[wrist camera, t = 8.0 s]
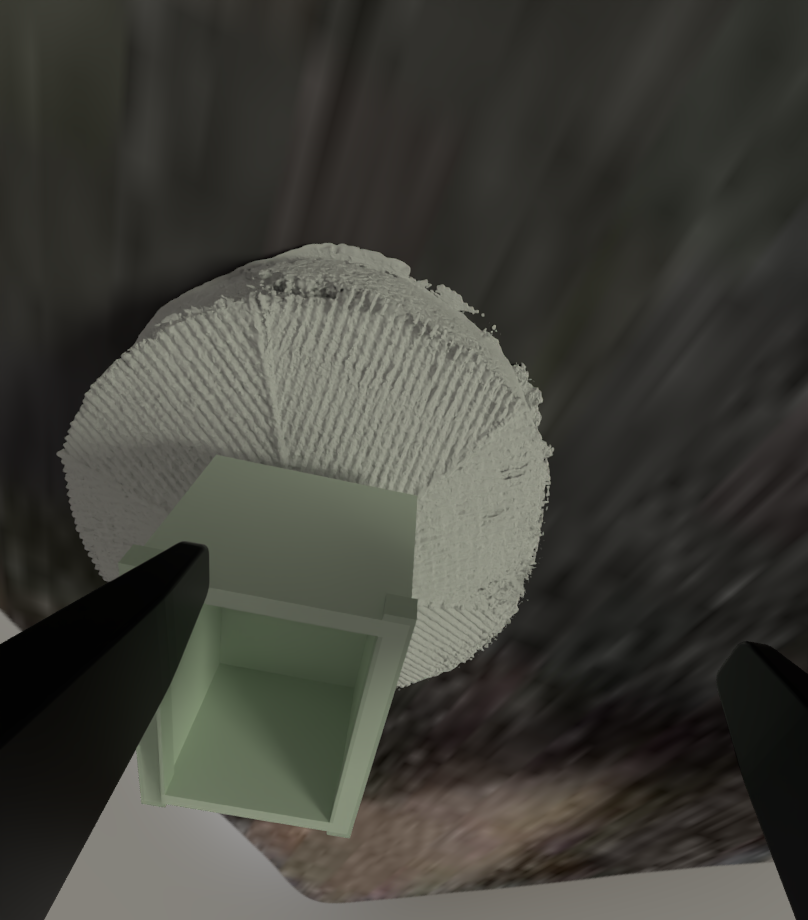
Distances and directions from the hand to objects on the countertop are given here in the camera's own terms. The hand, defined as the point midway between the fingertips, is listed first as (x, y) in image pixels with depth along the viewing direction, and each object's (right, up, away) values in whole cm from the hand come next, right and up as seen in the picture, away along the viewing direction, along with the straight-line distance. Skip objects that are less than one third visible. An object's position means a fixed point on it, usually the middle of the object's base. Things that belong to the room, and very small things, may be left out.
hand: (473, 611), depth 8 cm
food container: (-4, +2, +15) cm, 15 cm away
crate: (-5, -2, +9) cm, 10 cm away
